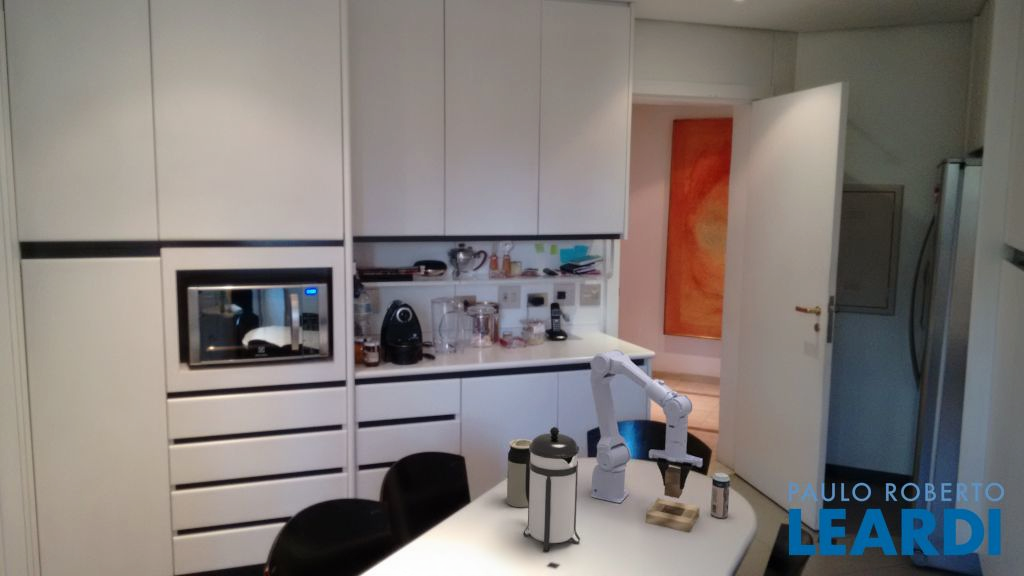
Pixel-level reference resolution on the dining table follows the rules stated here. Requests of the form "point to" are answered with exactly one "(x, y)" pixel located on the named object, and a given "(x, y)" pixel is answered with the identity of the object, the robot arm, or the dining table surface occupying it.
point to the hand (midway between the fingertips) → (673, 486)
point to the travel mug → (517, 472)
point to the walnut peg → (673, 482)
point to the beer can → (720, 495)
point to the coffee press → (552, 488)
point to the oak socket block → (672, 515)
